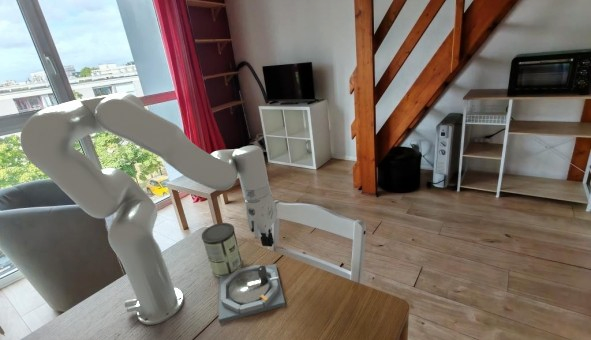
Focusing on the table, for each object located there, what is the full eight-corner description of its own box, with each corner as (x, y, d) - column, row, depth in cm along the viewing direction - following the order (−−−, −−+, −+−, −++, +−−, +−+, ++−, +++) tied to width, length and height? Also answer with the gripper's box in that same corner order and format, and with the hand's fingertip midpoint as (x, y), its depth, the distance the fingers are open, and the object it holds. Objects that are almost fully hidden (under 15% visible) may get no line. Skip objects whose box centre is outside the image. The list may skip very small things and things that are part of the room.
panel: (219, 322, 79) (217, 314, 78) (220, 280, 94) (218, 272, 93) (285, 305, 82) (283, 297, 80) (276, 266, 97) (274, 259, 96)
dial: (229, 309, 81) (225, 292, 79) (229, 279, 92) (225, 263, 89) (272, 298, 83) (269, 281, 80) (267, 270, 94) (264, 254, 91)
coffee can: (217, 256, 105) (208, 223, 100) (245, 256, 104) (237, 221, 98) (206, 278, 96) (196, 242, 90) (237, 277, 94) (228, 240, 89)
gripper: (257, 204, 74) (270, 262, 81) (278, 178, 87) (287, 230, 94) (231, 203, 76) (246, 260, 83) (255, 178, 89) (266, 229, 96)
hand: (268, 244), depth 88 cm, fingers closed
